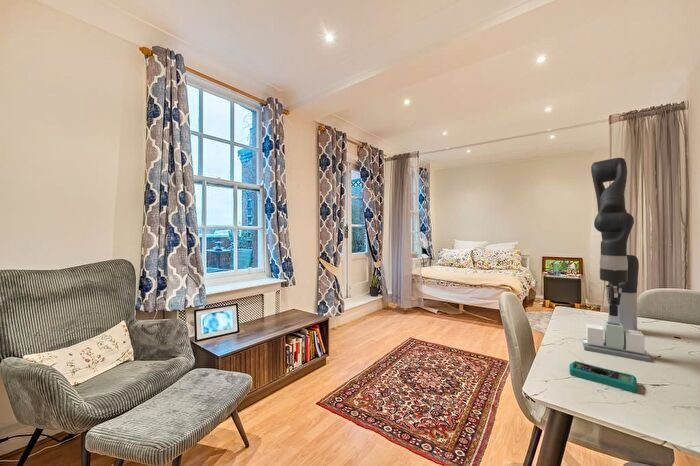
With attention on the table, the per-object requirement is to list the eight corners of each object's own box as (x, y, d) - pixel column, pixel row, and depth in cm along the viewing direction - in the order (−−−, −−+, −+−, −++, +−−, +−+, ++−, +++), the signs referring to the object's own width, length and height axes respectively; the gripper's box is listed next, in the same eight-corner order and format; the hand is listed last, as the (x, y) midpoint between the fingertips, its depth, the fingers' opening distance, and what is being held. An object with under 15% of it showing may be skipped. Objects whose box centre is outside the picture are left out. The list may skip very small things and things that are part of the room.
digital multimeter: (571, 367, 93) (571, 358, 93) (636, 385, 82) (636, 374, 82) (567, 376, 88) (567, 366, 88) (636, 395, 77) (636, 384, 77)
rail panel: (582, 341, 114) (582, 321, 114) (643, 352, 104) (643, 330, 104) (584, 349, 106) (584, 328, 106) (650, 362, 96) (650, 338, 96)
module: (604, 342, 109) (604, 320, 108) (620, 344, 106) (620, 322, 106) (606, 346, 104) (606, 323, 104) (623, 349, 101) (623, 326, 101)
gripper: (597, 265, 112) (597, 310, 112) (601, 269, 102) (601, 318, 102) (624, 266, 108) (624, 313, 108) (631, 270, 97) (631, 322, 97)
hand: (613, 315), depth 105 cm, fingers closed
